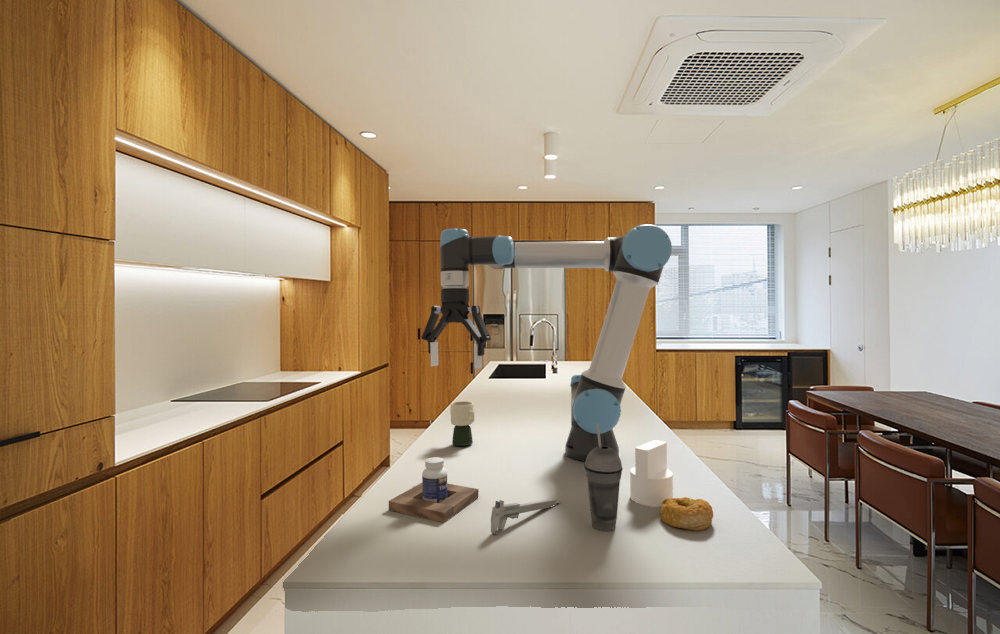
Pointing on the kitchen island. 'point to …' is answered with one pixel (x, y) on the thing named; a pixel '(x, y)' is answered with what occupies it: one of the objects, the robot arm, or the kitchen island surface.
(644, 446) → the cylinder with rectangular tab
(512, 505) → the caliper
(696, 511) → the bagel
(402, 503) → the holder block
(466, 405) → the character mug
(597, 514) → the beverage cup
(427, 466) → the pill bottle
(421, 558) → the kitchen island surface
